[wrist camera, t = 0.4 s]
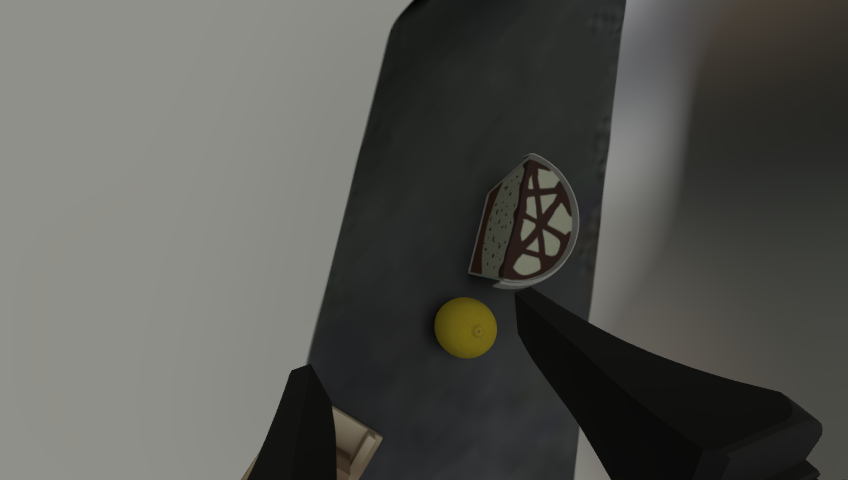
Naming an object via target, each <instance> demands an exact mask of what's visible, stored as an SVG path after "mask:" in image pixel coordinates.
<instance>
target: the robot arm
mask: <svg viewBox="0 0 848 480" xmlns="http://www.w3.org/2000/svg"><path fill="white" fill-rule="evenodd" d="M515 305H516V317H517V328H518V335H519V336H520V338H521V340H522V342H523V344H524V346H525V347H526V349H527V351H528V353H529V354H530V356H531V358H532V359H533V361H534V362H535V364H536V365H537V367H538V368H539V369H540V371H541V372H542V374H543V375H544V376H545V378H546V379H547V380H548V382H549V383H550V385H551V386H552V387H553V389H554V390H555V391H556V393H557V394H558V396H559V397H560V398H561V400H562V401H563V402H564V404H565V405H566V407H567V408H568V409H569V411H570V412H571V414H572V415H573V416H574V418H575V419H576V421H577V422H578V424H579V425H580V427H581V429H582V430H583V432H584V434H585V436H586V437H587V439H588V441H589V442H590V444H591V446H592V447H593V449H594V451H595V452H596V454H597V456H598V458H599V459H600V461H601V463H602V465H603V466H604V468H605V470H606V472H607V473H608V475H609V477H610V479H611V480H818V479H817V477H819V475H820V473H819V471H818V470H817V469H816V468H815V467H813V466H812V465H811V464H810V463H809V462H808V461H807V460H805V459H806V458H807V456H808V455H809V453H810V452H811V450H812V449H813V448H814V446H815V445H816V443H817V442H818V440H819V438H820V437H821V435H822V425H821V423H820V422H819V421H818V420H817V419H815V418H814V417H813V416H812V415H810V414H809V413H808V412H806V411H805V410H804V409H803V408H801V407H800V406H799V405H798V404H796V403H795V402H793V401H792V400H791V399H789V398H788V397H787V396H785V395H784V394H782V393H781V392H778V391H774V390H770V389H766V388H762V387H758V386H753V385H750V384H745V383H741V382H737V381H734V380H730V379H727V378H723V377H720V376H717V375H713V374H710V373H707V372H703V371H700V370H697V369H694V368H691V367H688V366H685V365H683V364H680V363H677V362H674V361H672V360H669V359H666V358H663V357H661V356H658V355H655V354H653V353H651V352H648V351H646V350H644V349H641V348H639V347H636V346H634V345H632V344H630V343H627V342H625V341H623V340H621V339H619V338H617V337H615V336H613V335H611V334H609V333H607V332H605V331H603V330H601V329H600V328H598V327H596V326H594V325H592V324H590V323H589V322H587V321H585V320H584V319H582V318H580V317H578V316H577V315H575V314H573V313H571V312H570V311H568V310H566V309H565V308H563V307H562V306H560V305H558V304H557V303H555V302H554V301H552V300H550V299H549V298H547V297H546V296H544V295H543V294H541V293H539V292H538V291H536V290H535V289H533V288H531V287H529V288H526V289H524V290H521V291H518V292H515ZM247 480H337V457H336V431H335V423H334V416H333V410H332V403H331V400H330V398H329V396H328V395H327V393H326V391H325V389H324V387H323V386H322V384H321V382H320V380H319V378H318V376H317V375H316V373H315V371H314V369H313V367H312V366H311V364H309V365H306V366H303V367H300V368H297V369H294V370H292V371H291V373H290V375H289V378H288V381H287V384H286V387H285V390H284V392H283V395H282V398H281V401H280V404H279V406H278V409H277V412H276V414H275V417H274V419H273V422H272V424H271V427H270V429H269V432H268V434H267V437H266V439H265V441H264V444H263V446H262V448H261V450H260V452H259V455H258V457H257V459H256V461H255V463H254V466H253V468H252V470H251V472H250V474H249V476H248V478H247ZM844 480H848V478H846V479H844Z"/></svg>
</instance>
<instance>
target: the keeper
mask: <svg viewBox="0 0 848 480" xmlns="http://www.w3.org/2000/svg"><path fill="white" fill-rule="evenodd" d="M336 457H337V480H348V479H349V477H350V454H348V453H347V452H345V451H343V450H341V449H340V448H338V447H336Z"/></svg>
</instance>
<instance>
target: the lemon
mask: <svg viewBox="0 0 848 480" xmlns="http://www.w3.org/2000/svg"><path fill="white" fill-rule="evenodd" d="M434 329H435V335H436V337H437V340H438V342H439V343H440V345H441V346H442V347H443V348H444V349H445V350H446V351H447V352H449V353H450V354H452V355H454V356H457V357H459V358H474V357H478V356H480V355H482V354H484V353H485V352H486V351H488V350H489V349H490V347H491V346H492V345H493V343H494V341H495V338H496V333H497V326H496V321H495V318H494V316H493V314H492V312H491V311H490V310H489V309H488V308H487V307H486V306H485V305H484V304H483V303H481V302H480V301H478V300H476V299H472V298H469V297H459V298H456V299H452V300H450V301H448V302H447V303H445V304H444V305H443V306H442V307H441V308H440V310H439V311H438V313H437V315H436V319H435V325H434Z"/></svg>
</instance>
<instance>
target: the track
mask: <svg viewBox="0 0 848 480" xmlns="http://www.w3.org/2000/svg"><path fill="white" fill-rule="evenodd" d="M332 410H333V416H334V423H335V431H336V447H338V448H340V449H341V450H343V451H345V452H347V453H348V454H350V477H349V479H348V480H359V478H360V477H361V475H362V473H363V471H364V470H365V468H366V466H367V465H368V463H369V461H370V460H371V458H372V456H373V454H374V453H375V451H376V449H377V448H378V446H379V444H380V443H381V441H382V439H383V437H382V435H381V434H379V433H377V432H376V431H374V430H372V429H371V428H369V427H367V426H366V425H364V424H362V423H361V422H359V421H357V420H356V419H354V418H352V417H351V416H349V415H347V414H346V413H344V412H342V411H341V410H339V409H337V408H336V407H334V406H332ZM258 455H259V453H258ZM258 455H257V456H256V458H255V459H254V461H253V462H252V464H251V466H250V467H249V468H248V470H247V472H246V473H245V474H244V476H243V478H242V479H241V480H247V478H248V476H249V474H250V472H251V470H252V468H253V466H254V463H255V461H256V459H257V457H258Z"/></svg>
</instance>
